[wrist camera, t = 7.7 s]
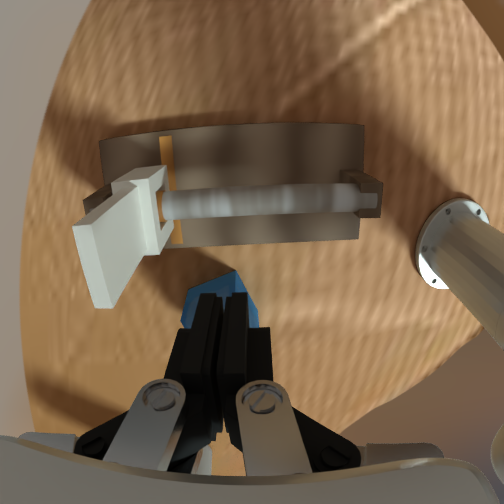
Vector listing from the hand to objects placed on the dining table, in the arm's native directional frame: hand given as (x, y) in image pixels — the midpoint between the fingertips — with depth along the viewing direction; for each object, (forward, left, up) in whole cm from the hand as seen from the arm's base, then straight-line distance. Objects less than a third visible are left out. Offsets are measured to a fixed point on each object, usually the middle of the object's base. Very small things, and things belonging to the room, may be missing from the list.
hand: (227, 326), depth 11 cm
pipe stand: (0, 0, -23) cm, 23 cm away
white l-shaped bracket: (+8, 0, -19) cm, 20 cm away
